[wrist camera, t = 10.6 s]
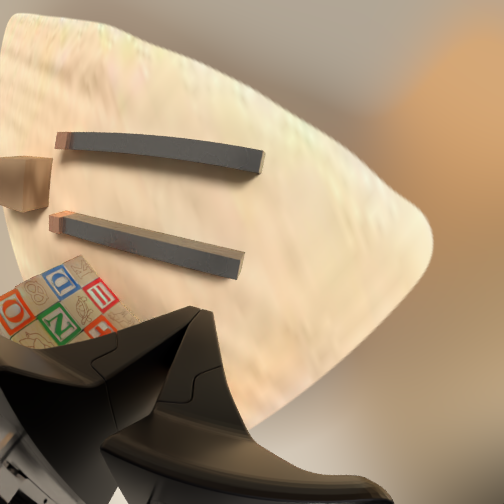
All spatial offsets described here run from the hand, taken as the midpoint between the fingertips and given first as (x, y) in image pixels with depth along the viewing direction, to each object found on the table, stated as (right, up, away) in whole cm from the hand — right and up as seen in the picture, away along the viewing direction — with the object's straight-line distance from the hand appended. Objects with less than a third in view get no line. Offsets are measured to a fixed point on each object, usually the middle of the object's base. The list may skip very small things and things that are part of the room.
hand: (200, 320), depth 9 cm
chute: (-7, +7, +11) cm, 15 cm away
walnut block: (-22, +10, +13) cm, 27 cm away
